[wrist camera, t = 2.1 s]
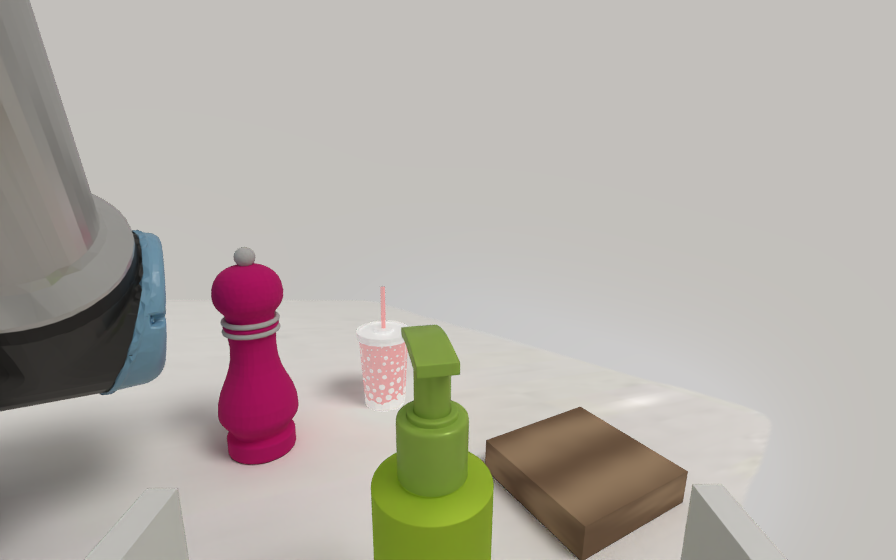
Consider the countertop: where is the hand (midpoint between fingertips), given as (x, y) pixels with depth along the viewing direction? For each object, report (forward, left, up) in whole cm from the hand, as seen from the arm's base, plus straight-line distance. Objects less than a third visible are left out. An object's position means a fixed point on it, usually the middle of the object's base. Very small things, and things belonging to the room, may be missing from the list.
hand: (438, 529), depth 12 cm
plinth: (-16, +24, -19) cm, 34 cm away
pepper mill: (-36, +1, -19) cm, 41 cm away
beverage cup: (-38, +15, -19) cm, 45 cm away
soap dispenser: (-9, +5, -19) cm, 22 cm away
